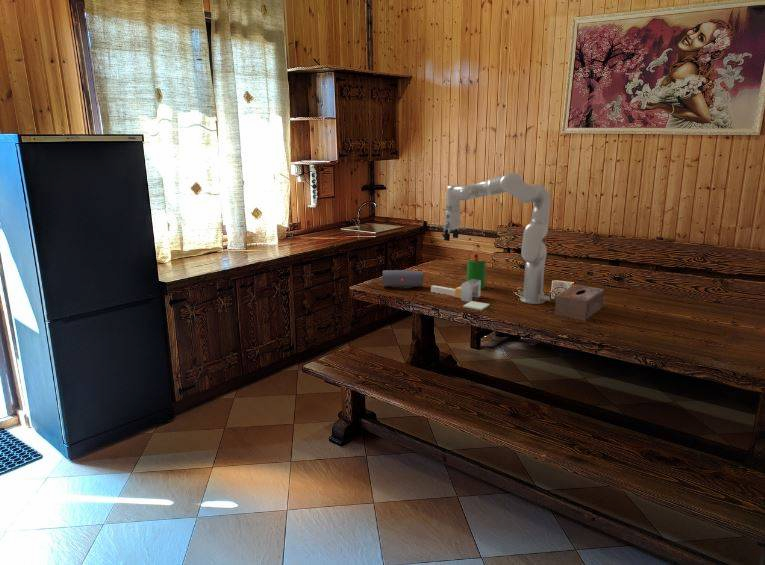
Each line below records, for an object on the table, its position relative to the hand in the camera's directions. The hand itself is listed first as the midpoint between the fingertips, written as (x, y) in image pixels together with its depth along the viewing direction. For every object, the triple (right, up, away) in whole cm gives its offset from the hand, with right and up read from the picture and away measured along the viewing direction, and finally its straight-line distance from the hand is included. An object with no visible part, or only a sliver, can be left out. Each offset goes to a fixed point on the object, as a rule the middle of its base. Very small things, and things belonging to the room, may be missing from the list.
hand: (451, 239), depth 301 cm
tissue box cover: (+59, -38, -33) cm, 77 cm away
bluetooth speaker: (-26, -27, +10) cm, 39 cm away
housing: (+9, -32, -11) cm, 35 cm away
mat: (+10, -36, -25) cm, 45 cm away
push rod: (-4, -30, -2) cm, 31 cm away
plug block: (+4, -32, -8) cm, 33 cm away
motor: (+15, -27, +10) cm, 32 cm away
